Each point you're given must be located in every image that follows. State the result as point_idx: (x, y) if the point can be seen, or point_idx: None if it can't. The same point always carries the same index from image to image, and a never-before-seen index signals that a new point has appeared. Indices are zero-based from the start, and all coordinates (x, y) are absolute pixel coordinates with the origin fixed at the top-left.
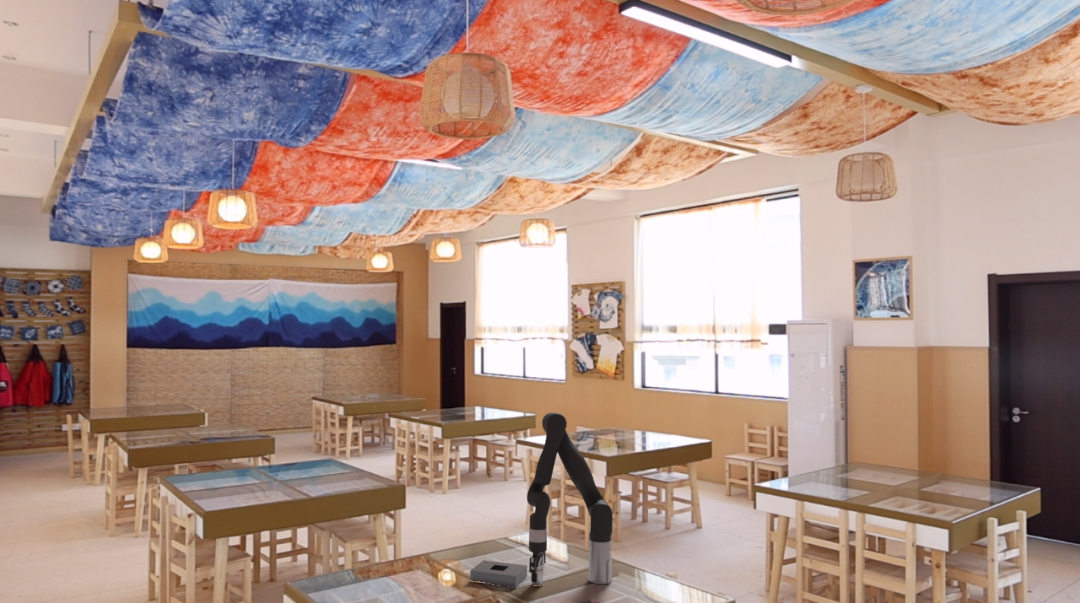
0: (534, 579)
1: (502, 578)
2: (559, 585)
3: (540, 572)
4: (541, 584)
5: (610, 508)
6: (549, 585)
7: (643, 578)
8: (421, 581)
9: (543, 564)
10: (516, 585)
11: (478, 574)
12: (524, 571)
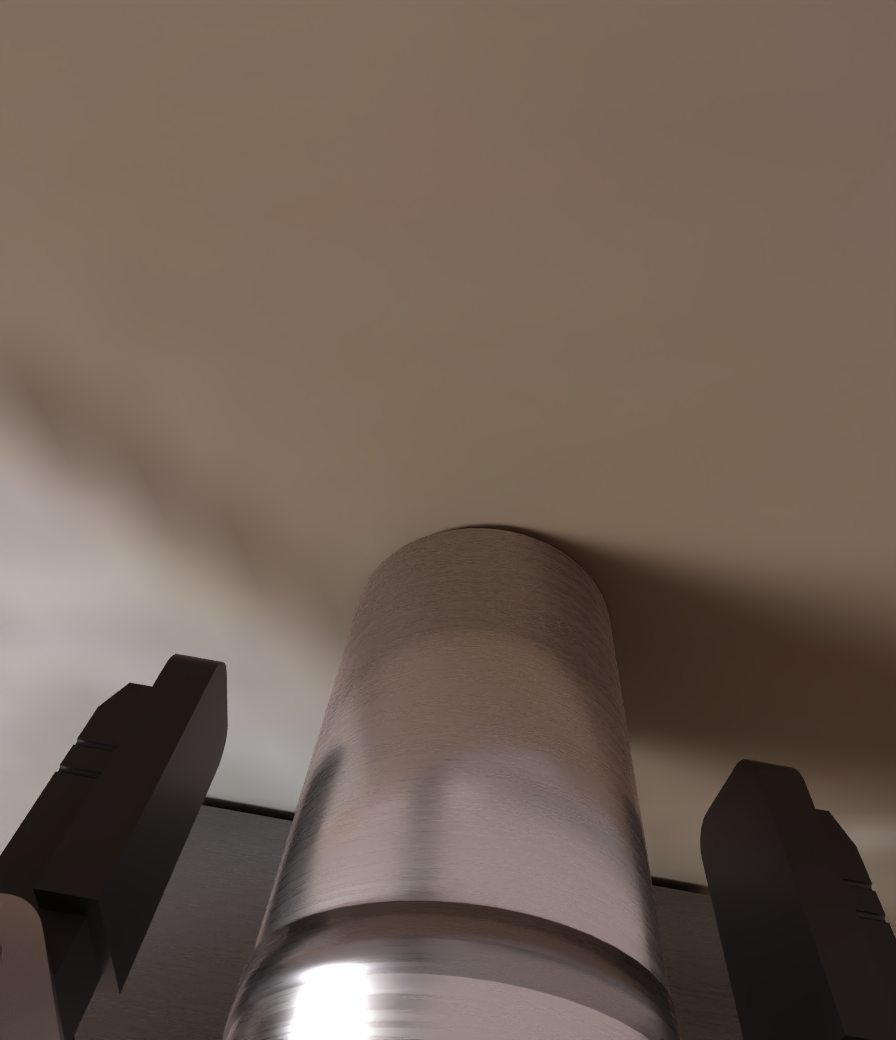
0: (853, 873)
1: None
2: (367, 54)
3: (632, 910)
4: (569, 581)
5: None
6: (434, 376)
7: None
8: None
9: (7, 995)
10: (679, 925)
11: None
12: (222, 975)
